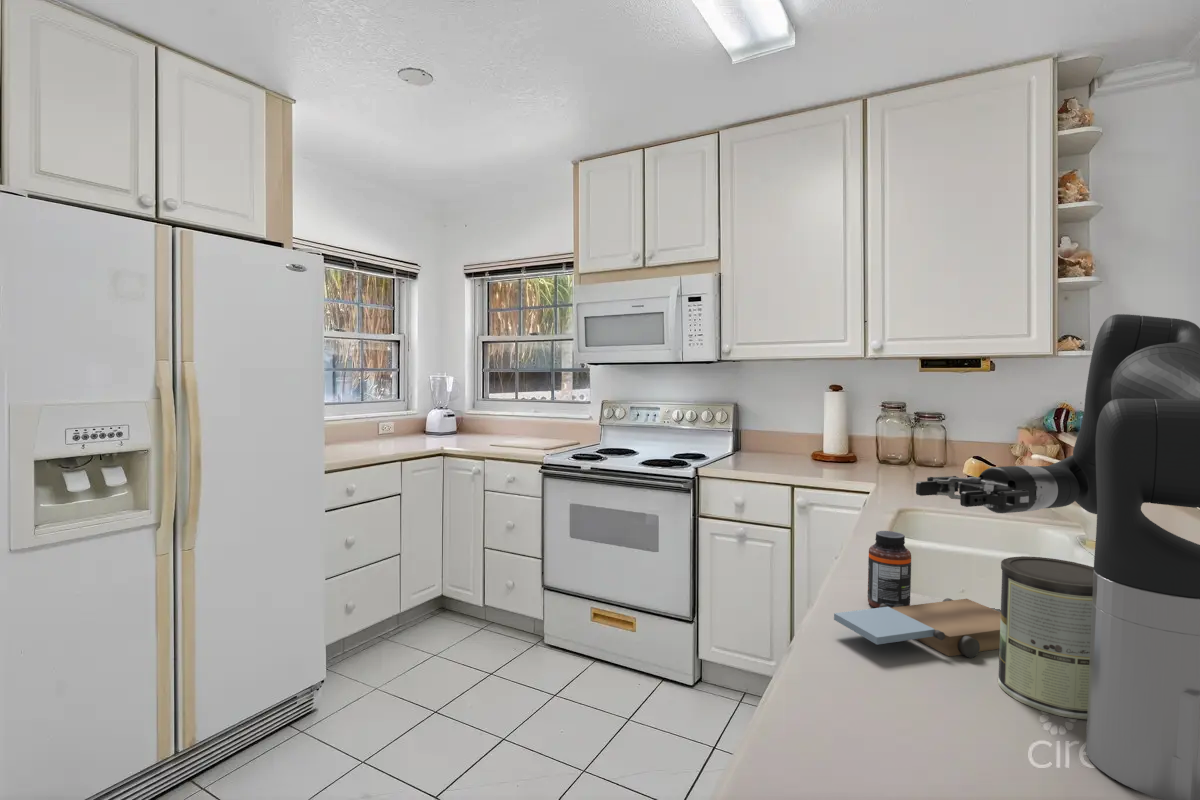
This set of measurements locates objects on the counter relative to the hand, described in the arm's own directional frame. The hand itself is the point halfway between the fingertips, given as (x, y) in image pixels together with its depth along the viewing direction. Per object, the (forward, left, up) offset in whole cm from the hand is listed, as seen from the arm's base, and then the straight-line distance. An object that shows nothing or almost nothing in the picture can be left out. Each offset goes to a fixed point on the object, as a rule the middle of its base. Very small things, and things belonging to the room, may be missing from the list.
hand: (939, 493), depth 96 cm
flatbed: (-11, +8, -17) cm, 22 cm away
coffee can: (-27, +11, -17) cm, 34 cm away
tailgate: (-11, +15, -14) cm, 24 cm away
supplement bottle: (0, +9, -17) cm, 20 cm away
